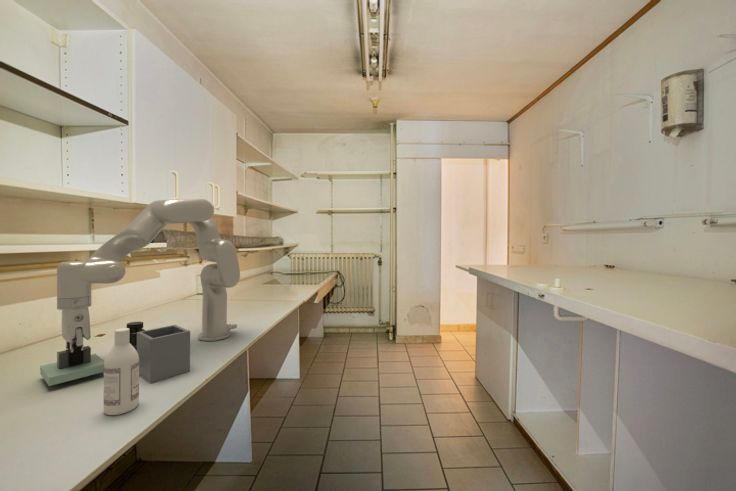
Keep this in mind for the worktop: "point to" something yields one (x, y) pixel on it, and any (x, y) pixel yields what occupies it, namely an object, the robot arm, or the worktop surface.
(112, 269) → the robot arm
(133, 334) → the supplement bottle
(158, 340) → the grey open storage bin
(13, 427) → the worktop surface
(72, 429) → the worktop surface
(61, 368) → the lid
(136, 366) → the bath foam
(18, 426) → the worktop surface
